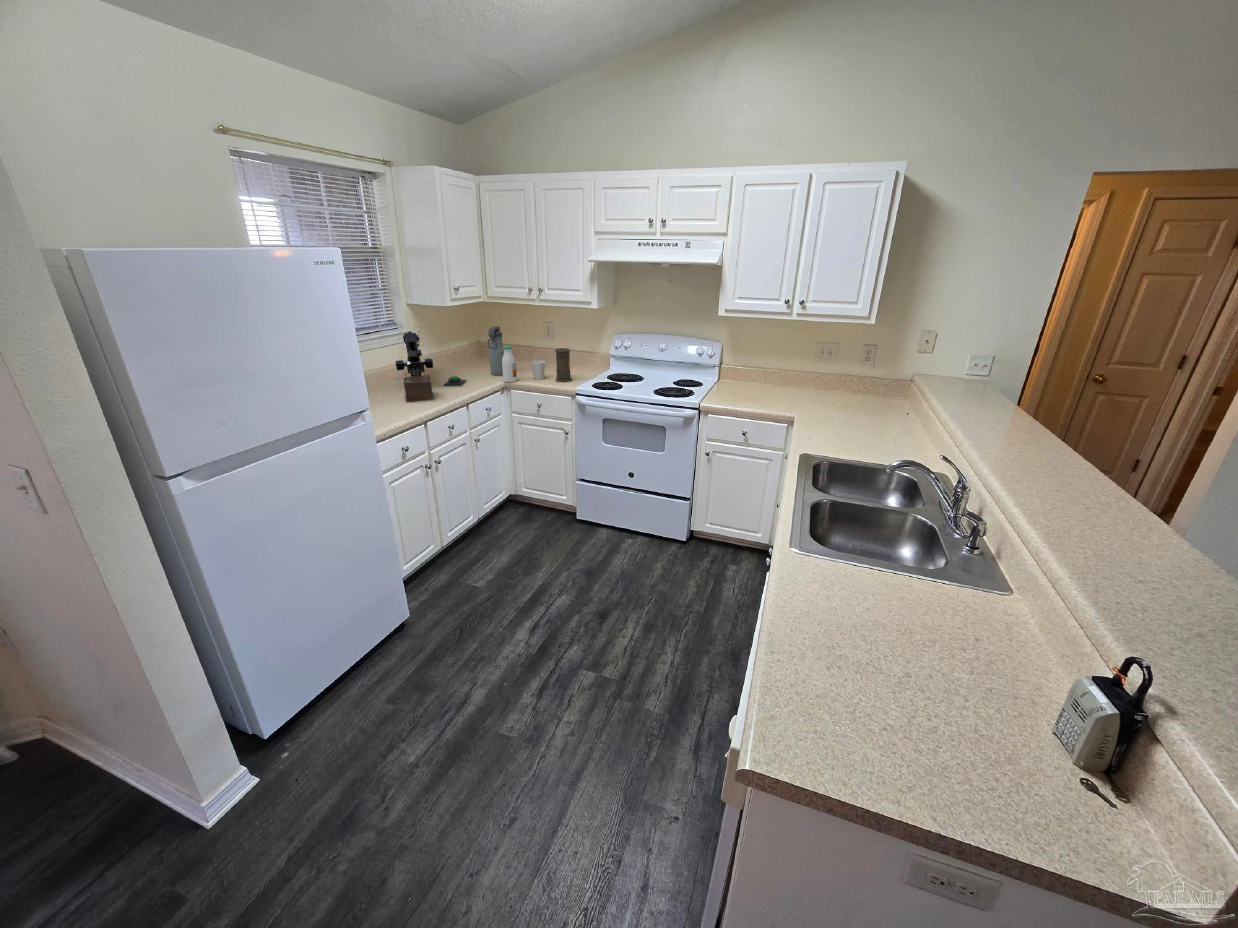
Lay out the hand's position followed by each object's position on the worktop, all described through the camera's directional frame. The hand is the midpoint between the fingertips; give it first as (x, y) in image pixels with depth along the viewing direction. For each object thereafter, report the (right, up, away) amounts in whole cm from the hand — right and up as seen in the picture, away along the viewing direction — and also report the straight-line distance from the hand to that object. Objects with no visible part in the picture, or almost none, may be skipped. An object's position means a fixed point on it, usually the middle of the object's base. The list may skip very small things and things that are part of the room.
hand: (416, 377), depth 273 cm
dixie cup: (+61, +5, +30) cm, 68 cm away
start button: (+15, +2, +16) cm, 22 cm away
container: (+76, +3, +26) cm, 80 cm away
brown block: (+6, -12, -10) cm, 17 cm away
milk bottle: (+45, +2, +24) cm, 51 cm away
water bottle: (+35, +9, +40) cm, 54 cm away
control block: (+15, -1, +17) cm, 23 cm away
